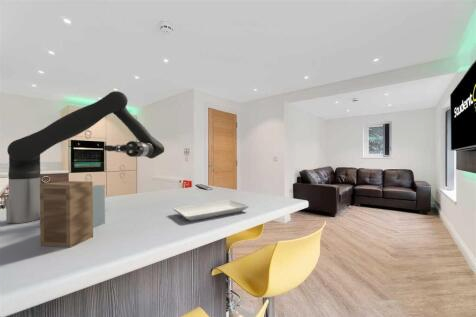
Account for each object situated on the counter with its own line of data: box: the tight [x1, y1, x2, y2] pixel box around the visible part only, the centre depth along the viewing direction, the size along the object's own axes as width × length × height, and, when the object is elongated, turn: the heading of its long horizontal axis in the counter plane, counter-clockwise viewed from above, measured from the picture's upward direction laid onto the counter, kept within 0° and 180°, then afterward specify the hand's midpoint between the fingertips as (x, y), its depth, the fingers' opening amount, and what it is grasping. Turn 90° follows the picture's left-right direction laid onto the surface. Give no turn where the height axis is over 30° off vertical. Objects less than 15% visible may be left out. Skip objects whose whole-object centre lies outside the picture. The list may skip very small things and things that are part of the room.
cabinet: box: [39, 180, 94, 248], centre depth 68 cm, size 12×12×18 cm
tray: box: [172, 199, 250, 222], centre depth 98 cm, size 17×32×4 cm, turn 125°
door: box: [93, 184, 106, 229], centre depth 78 cm, size 12×3×15 cm, turn 171°
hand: (114, 147), depth 91 cm, fingers open, 8 cm apart
